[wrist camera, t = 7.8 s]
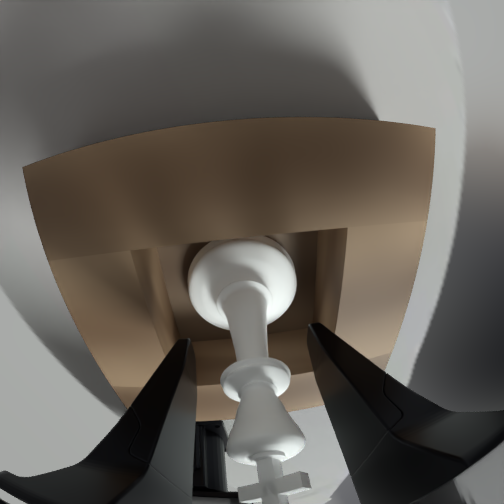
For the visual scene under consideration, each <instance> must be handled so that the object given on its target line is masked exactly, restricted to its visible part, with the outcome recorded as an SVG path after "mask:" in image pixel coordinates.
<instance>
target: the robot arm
mask: <svg viewBox="0 0 504 504" xmlns="http://www.w3.org/2000/svg"><path fill="white" fill-rule="evenodd" d="M307 347H308V351H309V355H310V359H311V363H312V368H313V372H314V376H315V380H316V383H317V386H318V389H319V391H320V394H321V397H322V399H323V402H324V405H325V407H326V410H327V413H328V415H329V418H330V421H331V423H332V426H333V429H334V431H335V434H336V437H337V439H338V442H339V445H340V448H341V450H342V453H343V456H344V459H345V461H346V464H347V467H348V470H349V472H350V475H351V476H352V477H351V478H352V481H353V484H354V486H355V489H356V492H357V495H358V497H359V500H360V503H361V504H504V410H500V411H487V412H486V411H485V412H454V411H449V410H447V409H444V408H442V407H440V406H438V405H437V404H435V403H433V402H431V401H429V400H428V399H426V398H424V397H422V396H421V395H419V394H417V393H415V392H414V391H412V390H411V389H409V388H407V387H406V386H404V385H403V384H401V383H400V382H398V381H397V380H396V379H394V378H393V377H392V376H390V375H389V374H386V372H385V371H383V370H382V369H381V368H379V367H378V366H377V365H375V364H374V363H373V362H371V361H370V360H369V359H367V358H366V357H365V356H364V355H362V354H361V353H360V352H358V351H357V350H356V349H354V348H353V347H352V346H350V345H349V344H348V343H346V342H345V341H344V340H342V339H341V338H340V337H339V336H337V335H336V334H335V333H333V332H332V331H331V330H329V329H328V328H327V327H325V326H324V325H323V324H322V323H320V322H317V323H311V324H309V325H308V331H307ZM196 409H197V379H196V358H195V353H194V349H193V346H192V342H191V340H190V339H189V338H180V339H178V340H177V341H176V343H175V344H174V345H173V347H172V348H171V350H170V351H169V352H168V354H167V355H166V356H165V358H164V359H163V361H162V362H161V363H160V365H159V366H158V368H157V369H156V370H155V372H154V373H153V374H152V376H151V377H150V379H149V380H148V381H147V383H146V384H145V386H144V387H143V388H142V390H141V391H140V393H139V394H138V395H137V397H136V398H135V400H134V401H133V402H132V404H131V406H130V407H129V408H128V409H127V411H126V412H125V413H124V415H123V416H122V417H121V419H120V420H119V421H118V423H117V424H116V425H115V426H114V427H113V428H112V430H111V431H110V432H109V433H108V434H107V435H106V437H105V438H104V439H103V440H102V441H101V442H100V443H99V444H98V445H97V446H96V447H95V448H94V450H93V451H92V452H91V453H90V454H89V455H88V456H87V457H86V458H85V459H83V460H82V461H81V462H79V463H77V464H75V465H73V466H70V467H67V468H63V469H60V470H56V471H52V472H49V473H45V474H41V475H37V476H32V477H19V476H16V475H14V474H12V473H10V472H8V471H2V472H0V488H1V489H2V490H4V491H6V492H7V493H9V494H11V495H12V496H14V497H16V498H18V499H20V500H21V501H23V502H25V503H27V504H249V503H242V502H239V497H238V492H228V490H227V477H226V465H225V452H226V446H227V441H228V435H227V432H226V429H225V426H224V423H223V421H221V420H215V421H196ZM0 504H9V503H7V502H5V501H4V500H2V499H0ZM250 504H253V503H250Z"/></svg>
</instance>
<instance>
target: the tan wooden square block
mask: <svg viewBox="0 0 504 504" xmlns="http://www.w3.org/2000/svg"><path fill="white" fill-rule="evenodd" d="M434 154H435V128H430V127H424V126H418V125H411V124H404V123H396V122H387V121H378V120H366V119H352V118H332V117H272V118H252V119H238V120H226V121H216V122H207V123H199V124H191V125H184V126H177V127H171V128H165V129H159V130H153V131H148V132H143V133H138V134H133V135H129V136H124V137H120V138H115V139H111V140H107V141H103V142H99V143H95V144H92V145H88V146H84V147H81V148H78V149H74V150H71V151H68V152H64V153H61V154H58V155H55V156H52V157H49V158H46V159H43V160H41V161H38V162H35V163H32V164H30V165H27V166H24V167H22V168H23V173H24V178H25V183H26V188H27V192H28V197H29V201H30V205H31V209H32V212H33V216H34V220H35V223H36V226H37V230H38V233H39V236H40V239H41V242H42V245H43V248H44V251H45V254H46V257H47V260H48V262H49V265H50V268H51V270H52V273H53V275H54V278H55V280H56V283H57V285H58V288H59V290H60V292H61V295H62V297H63V299H64V301H65V303H66V306H67V308H68V310H69V312H70V314H71V316H72V318H73V320H74V322H75V324H76V326H77V328H78V330H79V332H80V334H81V336H82V338H83V340H84V341H85V343H86V345H87V347H88V349H89V350H90V352H91V354H92V356H93V357H94V359H95V361H96V362H97V364H98V366H99V367H100V369H101V371H102V372H103V374H104V375H105V377H106V379H107V380H108V382H109V383H110V385H111V386H112V388H113V389H114V391H115V392H116V394H117V395H118V397H119V398H120V399H121V401H122V402H123V404H124V405H125V406H126V408H127V409H128V408H129V407H130V406H131V404H132V402H133V401H134V400H135V398H136V397H137V395H138V394H139V393H140V391H141V390H142V388H143V387H144V386H145V384H146V383H147V381H148V380H149V379H150V377H151V376H152V374H153V373H154V372H155V370H156V369H157V368H158V366H159V365H160V363H161V362H162V361H163V359H164V358H165V356H166V355H167V354H168V352H169V351H170V350H171V348H172V347H173V345H174V344H175V343H176V341H177V340H178V339H180V338H189V339H190V340H191V342H192V346H193V349H194V353H195V358H196V379H197V409H196V421H215V420H229V419H235V417H236V412H237V409H238V406H239V403H240V402H238V401H235V400H233V399H231V398H229V397H228V396H227V395H226V394H225V393H224V391H223V388H222V386H221V383H220V378H221V375H222V373H223V372H224V370H225V369H226V368H227V367H229V366H230V365H232V364H233V363H235V362H237V359H236V354H235V349H234V345H233V341H232V337H231V333H230V330H227V329H223V328H220V327H217V326H215V325H213V324H211V323H209V322H208V321H206V320H205V319H204V318H203V317H201V316H200V315H199V313H198V312H197V311H196V310H195V308H194V307H193V305H192V303H191V300H190V297H189V292H188V271H189V268H190V265H191V263H192V261H193V259H194V257H195V256H196V255H197V253H198V252H199V251H200V250H201V249H202V248H203V247H204V246H205V245H207V244H208V243H210V242H211V241H217V240H226V239H235V238H245V237H254V236H266V237H268V238H270V239H272V240H274V241H276V242H277V243H278V244H280V245H281V246H282V247H283V248H284V249H285V250H286V251H287V253H288V254H289V256H290V257H291V259H292V261H293V264H294V267H295V274H296V279H297V287H296V293H295V296H294V299H293V301H292V303H291V304H290V306H289V308H288V309H287V310H286V311H285V312H284V313H283V314H282V315H281V316H280V317H279V318H278V319H276V320H275V321H273V322H272V323H270V324H268V325H267V345H268V357H270V358H274V359H277V360H280V361H282V362H283V363H285V364H286V365H287V366H288V368H289V369H290V372H291V377H290V384H289V386H288V388H287V389H286V391H285V392H284V393H282V394H281V395H280V396H278V398H279V400H280V401H281V402H282V403H283V405H284V407H285V409H286V411H287V412H291V411H296V410H302V409H307V408H312V407H317V406H321V405H324V402H323V399H322V397H321V394H320V391H319V389H318V386H317V383H316V380H315V376H314V372H313V368H312V363H311V359H310V355H309V351H308V347H307V331H308V325H309V324H311V323H317V322H320V323H322V324H323V325H324V326H325V327H327V328H328V329H329V330H331V331H332V332H333V333H335V334H336V335H337V336H339V337H340V338H341V339H342V340H344V341H345V342H346V343H348V344H349V345H350V346H352V347H353V348H354V349H356V350H357V351H358V352H360V353H361V354H362V355H364V356H365V357H366V358H367V359H369V360H370V361H371V362H373V363H374V364H375V365H377V366H378V367H379V368H381V369H382V370H383V371H385V368H386V366H387V363H388V361H389V358H390V356H391V353H392V351H393V348H394V345H395V342H396V340H397V337H398V334H399V331H400V328H401V325H402V322H403V319H404V316H405V313H406V309H407V306H408V303H409V299H410V296H411V292H412V288H413V285H414V281H415V277H416V273H417V269H418V264H419V260H420V255H421V251H422V246H423V241H424V236H425V230H426V224H427V218H428V212H429V205H430V197H431V189H432V180H433V169H434Z"/></svg>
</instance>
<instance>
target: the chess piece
mask: <svg viewBox="0 0 504 504" xmlns="http://www.w3.org/2000/svg"><path fill="white" fill-rule="evenodd" d="M296 287H297V279H296V274H295V267H294V264H293V261H292V259H291V257H290V256H289V254H288V253H287V251H286V250H285V249H284V248H283V247H282V246H281V245H280V244H278V243H277V242H276V241H274V240H272V239H270V238H268V237H266V236H254V237H245V238H235V239H226V240H217V241H211V242H210V243H208V244H207V245H205V246H204V247H203V248H202V249H201V250H200V251H199V252H198V253H197V255H196V256H195V257H194V259H193V261H192V263H191V265H190V268H189V271H188V292H189V297H190V300H191V303H192V305H193V307H194V308H195V310H196V311H197V312H198V313H199V315H200V316H201V317H203V318H204V319H205V320H206V321H208V322H209V323H211V324H213V325H215V326H217V327H220V328H223V329H227V330H230V333H231V337H232V341H233V345H234V349H235V354H236V359H237V362H235V363H233V364H232V365H230V366H229V367H227V368H226V369H225V370H224V372H223V373H222V375H221V378H220V383H221V386H222V388H223V391H224V393H225V394H226V395H227V396H228V397H229V398H231V399H233V400H235V401H238V402H240V403H239V406H238V409H237V412H236V417H235V421H234V425H233V428H232V430H231V432H230V435H229V438H228V441H227V446H226V452H227V454H228V456H229V457H230V458H231V459H233V460H235V461H237V462H239V463H242V464H247V465H255V466H257V471H258V478H259V483H256V484H252V485H247V486H243V487H238V497H239V502H242V503H249V504H250V503H255V502H261V501H262V504H289V502H288V497H287V495H291V494H294V493H298V492H301V491H305V490H308V489H311V485H310V481H309V476H308V473H304V472H301V471H299V472H296V473H292V474H289V475H286V476H283V471H282V466H281V462H283V461H285V460H287V459H290V458H292V457H294V456H295V455H297V454H298V453H299V452H300V451H301V450H302V449H303V448H304V446H305V443H306V440H305V437H304V435H303V433H302V431H301V430H300V428H299V427H298V425H297V424H296V423H295V422H294V421H293V420H292V418H291V417H290V415H289V414H288V412H287V411H286V409H285V407H284V405H283V403H282V402H281V401H280V400H279V398H278V396H280V395H281V394H282V393H284V392H285V391H286V389H287V388H288V386H289V384H290V377H291V372H290V369H289V368H288V366H287V365H286V364H285V363H283V362H282V361H280V360H277V359H274V358H270V357H268V345H267V325H268V324H270V323H272V322H273V321H275V320H276V319H278V318H279V317H280V316H281V315H282V314H283V313H284V312H285V311H286V310H287V309H288V308H289V306H290V304H291V303H292V301H293V299H294V296H295V293H296Z"/></svg>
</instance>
